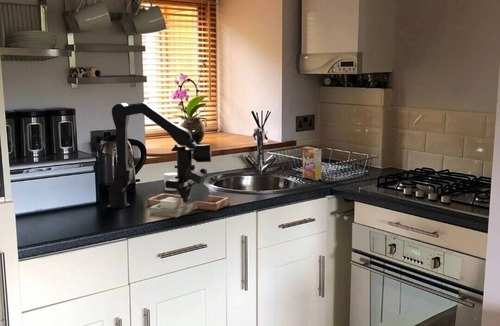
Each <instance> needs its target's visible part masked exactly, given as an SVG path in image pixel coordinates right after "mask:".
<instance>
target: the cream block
mask: <svg viewBox="0 0 500 326" xmlns="http://www.w3.org/2000/svg"><path fill="white" fill-rule="evenodd" d="M183 206H184V201H183V199H182V198H174V197H168V198H165V199H163V200H160V208H165V209H173V210H176V209H179V208H181V207H183Z"/></svg>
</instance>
